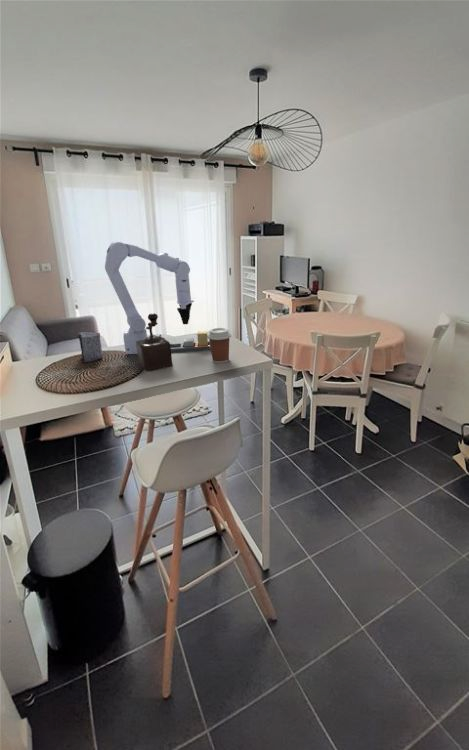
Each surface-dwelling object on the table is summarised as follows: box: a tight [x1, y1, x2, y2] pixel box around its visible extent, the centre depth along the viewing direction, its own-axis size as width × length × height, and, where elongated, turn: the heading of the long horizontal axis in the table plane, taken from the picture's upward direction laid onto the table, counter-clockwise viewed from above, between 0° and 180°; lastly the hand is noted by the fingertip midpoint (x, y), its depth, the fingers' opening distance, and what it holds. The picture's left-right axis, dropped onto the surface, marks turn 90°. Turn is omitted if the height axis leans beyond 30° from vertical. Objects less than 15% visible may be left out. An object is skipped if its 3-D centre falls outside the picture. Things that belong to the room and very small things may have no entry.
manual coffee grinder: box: [136, 312, 174, 372], centre depth 136 cm, size 16×11×18 cm
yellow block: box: [196, 330, 209, 346], centre depth 152 cm, size 4×4×7 cm
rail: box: [170, 340, 211, 353], centre depth 153 cm, size 20×7×2 cm, turn 93°
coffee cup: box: [207, 327, 232, 364], centre depth 136 cm, size 9×9×12 cm
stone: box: [77, 331, 105, 363], centre depth 145 cm, size 12×10×10 cm
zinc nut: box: [183, 338, 195, 347], centre depth 153 cm, size 4×4×4 cm
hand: (186, 321), depth 157 cm, fingers open, 7 cm apart
